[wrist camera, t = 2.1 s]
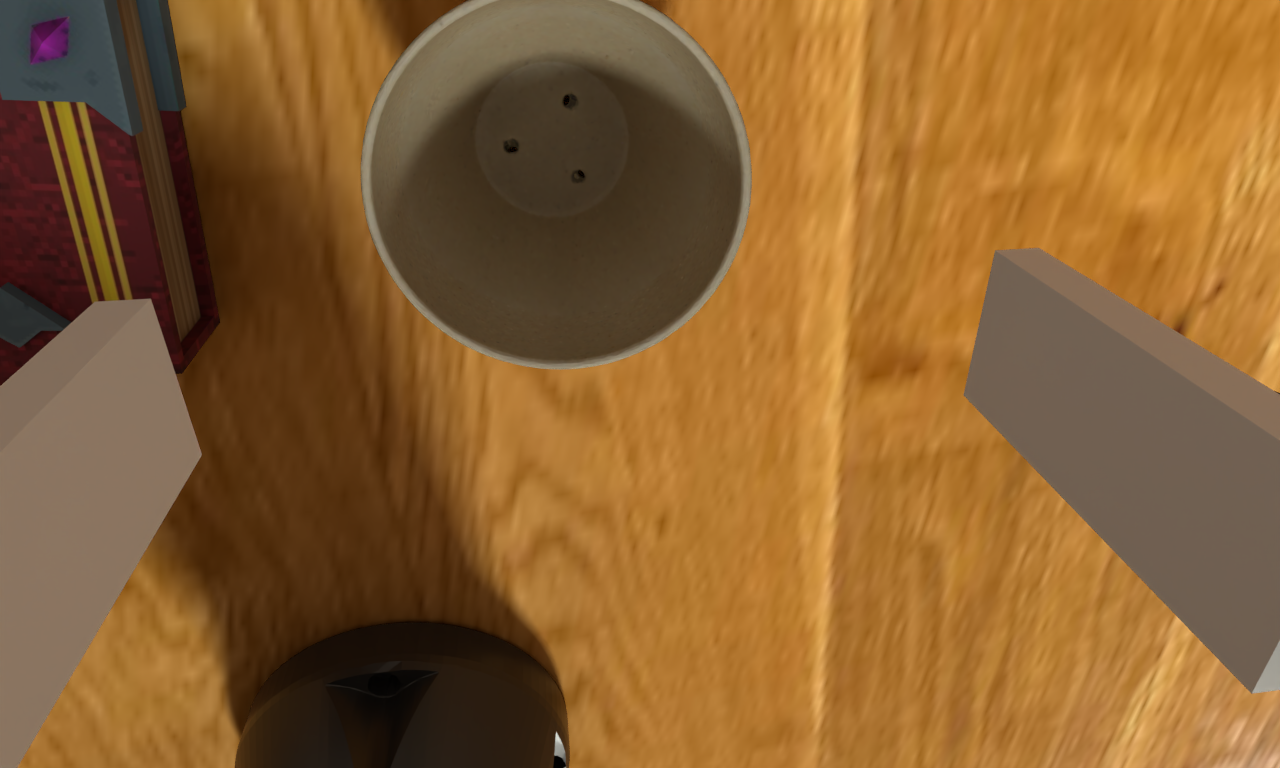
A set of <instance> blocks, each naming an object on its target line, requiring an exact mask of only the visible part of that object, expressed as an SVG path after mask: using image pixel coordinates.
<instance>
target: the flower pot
mask: <svg viewBox="0 0 1280 768" xmlns="http://www.w3.org/2000/svg"><path fill="white" fill-rule="evenodd" d="M566 95H568V96H569V98H570V100H569V103H568V104H567V105H564V102H563V100H564V97H565V96H566ZM511 147H515V148H517V149H518V150H517V151H515V152H508V149H509V148H511ZM579 170H581V171H582V172H583V173H584V176H585V177H581V176H579V174H578V171H579ZM751 187H752V171H751V159H750V148H749V142H748V138H747V134H746V130H745V125H744V122H743V118H742V115H741V113H740V110H739V107H738V104H737V102H736V100H735V98H734V96H733V94H732V92H731V90H730V88H729V86H728V84H727V82H726V80H725V78H724V77H723V75H722V73H721V72H720V70H719V69H718V67H717V66H716V65H715V63H714V62H713V60H712V59H711V58H710V57H709V55H708V54H707V53H706V52H705V50H704V49H703V48H702V47H701V46H700V45H699V44H698V43H697V42H696V41H695V40H694V39H693V38H692V37H691V36H690V35H689V34H688V33H687V32H686V31H685V30H684V29H683V28H681V27H680V26H679V25H678V24H676V23H675V22H674V21H673V20H672V19H670V18H669V17H668V16H666V15H665V14H663V13H662V12H660V11H658V10H657V9H655V8H654V7H652V6H650V5H648V4H646V3H644V2H642V1H640V0H468V1H466V2H464V3H462V4H460V5H458V6H457V7H455V8H453V9H452V10H450V11H449V12H447V13H446V14H444V15H443V16H441V17H440V18H438V19H437V20H436V21H434V22H433V23H432V24H431V25H429V26H428V27H427V28H426V29H425V30H424V31H423V32H422V33H421V34H420V35H419V36H418V37H417V38H416V39H415V40H414V41H413V42H412V43H411V44H410V45H409V46H408V47H407V49H406V50H405V51H404V52H403V54H402V55H401V56H400V57H399V59H398V60H397V61H396V63H395V64H394V66H393V67H392V69H391V70H390V72H389V73H388V75H387V77H386V78H385V80H384V82H383V84H382V85H381V88H380V90H379V92H378V94H377V97H376V99H375V101H374V104H373V106H372V109H371V112H370V116H369V119H368V122H367V126H366V131H365V135H364V140H363V150H362V157H361V189H362V197H363V204H364V210H365V214H366V219H367V223H368V226H369V230H370V233H371V236H372V240H373V242H374V244H375V246H376V249H377V251H378V253H379V255H380V257H381V259H382V261H383V263H384V265H385V267H386V268H387V270H388V272H389V274H390V275H391V277H392V278H393V280H394V281H395V283H396V284H397V286H398V287H399V288H400V290H401V291H402V292H403V293H404V295H405V296H406V297H407V298H408V300H409V301H410V302H411V303H412V304H413V305H414V306H415V307H416V309H417V310H418V311H419V312H420V313H421V314H422V315H424V316H425V317H426V318H427V319H428V320H429V321H430V322H431V323H433V324H434V325H435V326H436V327H438V328H439V329H440V330H442V331H443V332H444V333H446V334H447V335H449V336H450V337H452V338H454V339H455V340H457V341H458V342H460V343H461V344H463V345H465V346H467V347H469V348H471V349H473V350H475V351H477V352H480V353H482V354H485V355H487V356H489V357H493V358H495V359H498V360H501V361H505V362H509V363H513V364H517V365H522V366H527V367H533V368H542V369H579V368H586V367H592V366H598V365H603V364H608V363H612V362H615V361H619V360H621V359H624V358H627V357H629V356H632V355H634V354H637V353H639V352H641V351H643V350H645V349H647V348H649V347H651V346H653V345H655V344H657V343H658V342H660V341H662V340H663V339H665V338H666V337H668V336H669V335H670V334H672V333H673V332H675V331H676V330H677V329H679V328H680V327H682V326H683V325H684V324H685V323H686V322H687V321H689V320H690V319H691V318H692V317H693V316H694V315H695V314H696V313H697V312H698V311H699V310H700V309H701V307H702V306H703V305H704V304H705V302H706V301H707V300H708V299H709V298H710V297H711V296H712V294H713V293H714V292H715V290H716V289H717V288H718V286H719V285H720V283H721V282H722V280H723V278H724V276H725V275H726V273H727V271H728V270H729V268H730V266H731V264H732V262H733V260H734V258H735V255H736V253H737V251H738V248H739V245H740V243H741V240H742V237H743V234H744V230H745V227H746V222H747V218H748V213H749V207H750V198H751Z"/></svg>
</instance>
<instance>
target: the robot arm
mask: <svg viewBox="0 0 1280 768" xmlns="http://www.w3.org/2000/svg"><path fill="white" fill-rule="evenodd" d="M964 396H965V397H966V398H967V399H968V400H969V401H970V402H971V403H972V404H973V405H974V406H975V407H976V408H977V410H978V411H979V412H980V413H981V414H982V415H983V416H984V417H985V418H986V419H987V420H988V421H989V422H990V423H991V424H992V425H993V426H994V427H995V428H996V429H997V430H998V431H999V432H1000V433H1001V434H1002V435H1003V436H1004V437H1005V439H1006V440H1007V441H1008V442H1009V443H1010V444H1011V445H1012V446H1013V447H1014V448H1015V449H1016V450H1017V451H1018V452H1019V453H1020V454H1021V455H1022V456H1023V457H1024V458H1025V459H1026V460H1027V461H1028V462H1029V463H1030V464H1031V465H1032V466H1033V468H1034V469H1035V470H1036V471H1037V472H1038V473H1039V474H1040V475H1041V476H1042V477H1043V478H1044V479H1045V480H1046V481H1047V482H1048V483H1049V484H1050V485H1051V486H1052V487H1053V488H1054V489H1055V490H1056V491H1057V492H1058V493H1059V494H1060V496H1061V497H1062V498H1063V499H1064V500H1065V501H1066V502H1067V503H1068V504H1069V505H1070V506H1071V507H1072V508H1073V509H1074V510H1075V511H1076V512H1077V513H1078V514H1079V515H1080V516H1081V517H1082V518H1083V519H1084V520H1085V521H1086V522H1087V523H1088V525H1089V526H1090V527H1091V528H1092V529H1093V530H1094V531H1095V532H1096V533H1097V534H1098V535H1099V536H1100V537H1101V538H1102V539H1103V540H1104V541H1105V542H1106V543H1107V544H1108V545H1109V546H1110V547H1111V548H1112V549H1113V550H1114V551H1115V552H1116V554H1117V555H1118V556H1119V557H1120V558H1121V559H1122V560H1123V561H1124V562H1125V563H1126V564H1127V565H1128V566H1129V567H1130V568H1131V569H1132V570H1133V571H1134V572H1135V573H1136V574H1137V575H1138V576H1139V577H1140V578H1141V579H1142V580H1143V581H1144V583H1145V584H1146V585H1147V586H1148V587H1149V588H1150V589H1151V590H1152V591H1153V592H1154V593H1155V594H1156V595H1157V596H1158V597H1159V598H1160V599H1161V600H1162V601H1163V602H1164V603H1165V604H1166V605H1167V606H1168V607H1169V608H1170V609H1171V611H1172V612H1173V613H1174V614H1175V615H1176V616H1177V617H1178V618H1179V619H1180V620H1181V621H1182V622H1183V623H1184V624H1185V625H1186V626H1187V627H1188V628H1189V629H1190V630H1191V631H1192V632H1193V633H1194V634H1195V635H1196V636H1197V637H1198V638H1199V640H1200V641H1201V642H1202V643H1203V644H1204V645H1205V646H1206V647H1207V648H1208V649H1209V650H1210V651H1211V652H1212V653H1213V654H1214V655H1215V656H1216V657H1217V658H1218V659H1219V660H1220V661H1221V662H1222V663H1223V664H1224V665H1225V666H1226V667H1227V669H1228V670H1229V671H1230V672H1231V673H1232V674H1233V675H1234V676H1235V677H1236V678H1237V679H1238V680H1239V681H1240V682H1241V683H1242V684H1243V685H1244V686H1245V687H1246V688H1247V689H1248V690H1249V691H1250V692H1251V693H1259V692H1267V691H1275V690H1280V393H1278V392H1276V391H1273V390H1272V389H1270V388H1268V387H1267V386H1265V385H1263V384H1262V383H1260V382H1258V381H1257V380H1255V379H1253V378H1252V377H1250V376H1248V375H1247V374H1245V373H1244V372H1242V371H1240V370H1239V369H1237V368H1235V367H1234V366H1232V365H1230V364H1229V363H1227V362H1225V361H1224V360H1222V359H1221V358H1219V357H1217V356H1216V355H1214V354H1212V353H1211V352H1209V351H1207V350H1206V349H1204V348H1202V347H1201V346H1199V345H1197V344H1196V343H1194V342H1193V341H1191V340H1189V339H1188V338H1186V337H1184V336H1183V335H1181V334H1179V333H1178V332H1176V331H1174V330H1173V329H1171V328H1170V327H1168V326H1166V325H1165V324H1163V323H1161V322H1160V321H1158V320H1156V319H1155V318H1153V317H1151V316H1150V315H1148V314H1146V313H1145V312H1143V311H1142V310H1140V309H1138V308H1137V307H1135V306H1133V305H1132V304H1130V303H1128V302H1127V301H1125V300H1123V299H1122V298H1120V297H1119V296H1117V295H1115V294H1114V293H1112V292H1110V291H1109V290H1107V289H1105V288H1104V287H1102V286H1100V285H1099V284H1097V283H1096V282H1094V281H1092V280H1091V279H1089V278H1087V277H1086V276H1084V275H1082V274H1081V273H1079V272H1077V271H1076V270H1074V269H1072V268H1071V267H1069V266H1068V265H1066V264H1064V263H1063V262H1061V261H1059V260H1058V259H1056V258H1054V257H1053V256H1051V255H1049V254H1048V253H1046V252H1045V251H1043V250H1041V249H1040V248H1030V249H1012V250H995V254H994V259H993V263H992V268H991V272H990V277H989V282H988V286H987V291H986V295H985V300H984V304H983V309H982V314H981V318H980V323H979V327H978V332H977V337H976V341H975V346H974V350H973V355H972V359H971V364H970V369H969V373H968V378H967V382H966V387H965V392H964ZM201 456H202V453H201V450H200V447H199V444H198V441H197V438H196V435H195V432H194V429H193V426H192V423H191V420H190V417H189V413H188V410H187V407H186V404H185V401H184V398H183V395H182V392H181V389H180V386H179V383H178V380H177V377H176V374H175V371H174V368H173V365H172V362H171V359H170V356H169V353H168V350H167V347H166V343H165V340H164V337H163V334H162V331H161V328H160V325H159V322H158V319H157V316H156V313H155V310H154V307H153V304H152V301H151V299H135V300H118V301H100V302H94V303H93V304H92V305H91V306H90V307H88V308H87V309H86V310H85V311H84V312H83V313H82V314H81V315H79V316H78V317H77V318H76V319H75V320H74V321H73V322H72V323H71V324H69V325H68V326H67V327H66V328H65V329H64V330H63V331H62V332H60V333H59V334H58V335H57V336H56V337H55V338H54V339H53V340H51V341H50V342H49V343H48V344H47V345H46V346H45V347H44V348H42V349H41V350H40V351H39V352H38V353H37V354H36V355H35V356H34V357H32V358H31V359H30V360H29V361H28V362H27V363H26V364H25V365H23V366H22V367H21V368H20V369H19V370H18V371H17V372H16V373H14V374H13V375H12V376H11V377H10V378H9V379H8V380H7V381H5V382H4V383H3V384H2V385H1V386H0V768H17V767H18V765H19V764H20V762H21V760H22V759H23V757H24V755H25V753H26V752H27V750H28V748H29V747H30V745H31V743H32V742H33V740H34V738H35V737H36V735H37V733H38V731H39V730H40V728H41V726H42V725H43V723H44V721H45V720H46V718H47V716H48V715H49V713H50V711H51V710H52V708H53V706H54V704H55V703H56V701H57V699H58V698H59V696H60V694H61V693H62V691H63V689H64V688H65V686H66V684H67V682H68V681H69V679H70V677H71V676H72V674H73V672H74V671H75V669H76V667H77V666H78V664H79V662H80V660H81V659H82V657H83V655H84V654H85V652H86V650H87V649H88V647H89V645H90V644H91V642H92V640H93V638H94V637H95V635H96V633H97V632H98V630H99V628H100V627H101V625H102V623H103V622H104V620H105V618H106V616H107V615H108V613H109V611H110V610H111V608H112V606H113V605H114V603H115V601H116V600H117V598H118V596H119V595H120V593H121V591H122V589H123V588H124V586H125V584H126V583H127V581H128V579H129V578H130V576H131V574H132V573H133V571H134V569H135V567H136V566H137V564H138V562H139V561H140V559H141V557H142V556H143V554H144V552H145V551H146V549H147V547H148V545H149V544H150V542H151V540H152V539H153V537H154V535H155V534H156V532H157V530H158V529H159V527H160V525H161V523H162V522H163V520H164V518H165V517H166V515H167V513H168V512H169V510H170V508H171V507H172V505H173V503H174V501H175V500H176V498H177V496H178V495H179V493H180V491H181V490H182V488H183V486H184V485H185V483H186V481H187V480H188V478H189V476H190V474H191V473H192V471H193V469H194V468H195V466H196V464H197V463H198V461H199V459H200V458H201ZM569 761H570V748H569V734H568V720H567V711H566V706H565V703H564V699H563V697H562V695H561V692H560V690H559V688H558V687H557V685H556V683H555V682H554V680H553V679H552V678H551V676H550V675H549V674H548V673H547V672H546V670H545V669H544V668H543V667H542V666H541V665H540V664H539V663H537V662H536V661H535V660H534V659H532V658H531V657H530V656H528V655H527V654H526V653H524V652H523V651H521V650H519V649H518V648H516V647H514V646H513V645H511V644H509V643H507V642H505V641H503V640H500V639H498V638H495V637H493V636H490V635H487V634H485V633H481V632H478V631H475V630H471V629H467V628H462V627H457V626H451V625H444V624H435V623H393V624H384V625H377V626H370V627H365V628H361V629H356V630H353V631H349V632H345V633H342V634H339V635H336V636H333V637H331V638H328V639H326V640H323V641H321V642H319V643H317V644H315V645H313V646H311V647H309V648H307V649H305V650H303V651H302V652H300V653H298V654H297V655H295V656H294V657H292V658H291V659H289V660H288V661H287V662H286V663H284V664H283V665H282V666H281V667H280V668H279V669H277V670H276V671H275V672H274V673H273V674H272V675H271V676H270V678H269V679H268V680H267V681H266V682H265V684H264V685H263V686H262V688H261V689H260V691H259V692H258V694H257V696H256V697H255V700H254V702H253V704H252V706H251V709H250V712H249V715H248V718H247V721H246V724H245V727H244V730H243V733H242V736H241V739H240V742H239V745H238V749H237V754H236V761H235V768H569Z"/></svg>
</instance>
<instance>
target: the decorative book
mask: <svg viewBox="0 0 1280 768" xmlns="http://www.w3.org/2000/svg"><path fill="white" fill-rule="evenodd" d="M185 107H186V102H185V97H184V91H183V85H182V80H181V74H180V69H179V63H178V57H177V52H176V46H175V40H174V35H173V29H172V23H171V18H170V12H169V6H168V1H167V0H0V386H1V385H2V384H3V383H4V382H5V381H7V380H8V379H9V378H10V377H11V376H12V375H13V374H14V373H16V372H17V371H18V370H19V369H20V368H21V367H22V366H23V365H25V364H26V363H27V362H28V361H29V360H30V359H31V358H32V357H34V356H35V355H36V354H37V353H38V352H39V351H40V350H41V349H42V348H44V347H45V346H46V345H47V344H48V343H49V342H50V341H51V340H53V339H54V338H55V337H56V336H57V335H58V334H59V333H60V332H62V331H63V330H64V329H65V328H66V327H67V326H68V325H69V324H71V323H72V322H73V321H74V320H75V319H76V318H77V317H78V316H79V315H81V314H82V313H83V312H84V311H85V310H86V309H87V308H88V307H90V306H91V305H92V304H93V303H94V302H100V301H118V300H135V299H151V301H152V304H153V307H154V310H155V313H156V316H157V319H158V322H159V325H160V328H161V331H162V334H163V337H164V340H165V343H166V347H167V350H168V353H169V356H170V359H171V362H172V365H173V368H174V371H175V374H182V373H183V371H184V370H185V369H186V367H187V366H188V365H189V363H190V362H191V361H192V359H193V358H194V357H195V355H196V354H197V352H198V351H199V350H200V348H201V347H202V346H203V344H204V343H205V342H206V340H207V339H208V338H209V336H210V335H211V334H212V332H213V331H214V329H215V328H216V327H217V325H218V324H219V323H220V319H219V314H218V309H217V303H216V298H215V293H214V288H213V282H212V277H211V272H210V266H209V261H208V256H207V251H206V245H205V240H204V235H203V230H202V224H201V219H200V214H199V208H198V203H197V198H196V193H195V187H194V182H193V177H192V172H191V166H190V161H189V156H188V150H187V145H186V140H185V135H184V129H183V124H182V119H181V114H180V110H182V109H184V108H185Z"/></svg>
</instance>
